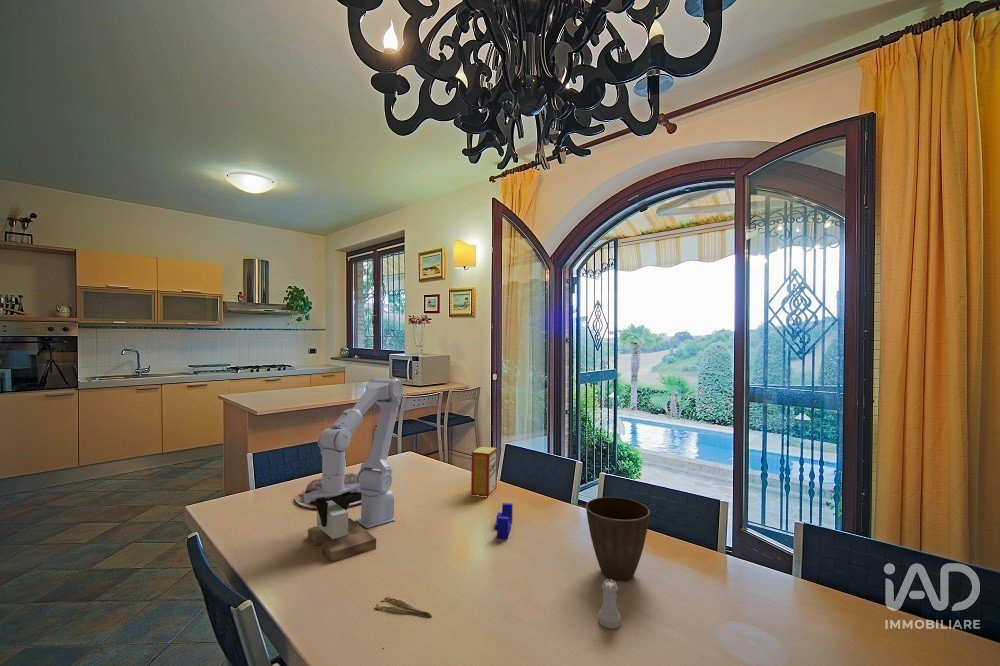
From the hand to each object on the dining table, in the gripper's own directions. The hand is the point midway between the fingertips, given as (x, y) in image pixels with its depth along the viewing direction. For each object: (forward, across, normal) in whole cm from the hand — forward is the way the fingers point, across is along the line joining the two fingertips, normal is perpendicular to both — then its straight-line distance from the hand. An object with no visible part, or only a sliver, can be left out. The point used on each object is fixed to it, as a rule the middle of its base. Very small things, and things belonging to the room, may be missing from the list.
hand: (332, 523), depth 120 cm
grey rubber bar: (+2, 0, 0) cm, 2 cm away
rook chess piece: (+6, -30, +68) cm, 75 cm away
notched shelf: (+6, -2, 0) cm, 6 cm away
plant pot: (+6, -48, +58) cm, 75 cm away
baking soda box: (+6, -58, -7) cm, 59 cm away
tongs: (+7, -1, +38) cm, 39 cm away
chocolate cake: (+6, -16, -37) cm, 41 cm away
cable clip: (+6, -42, +22) cm, 48 cm away
